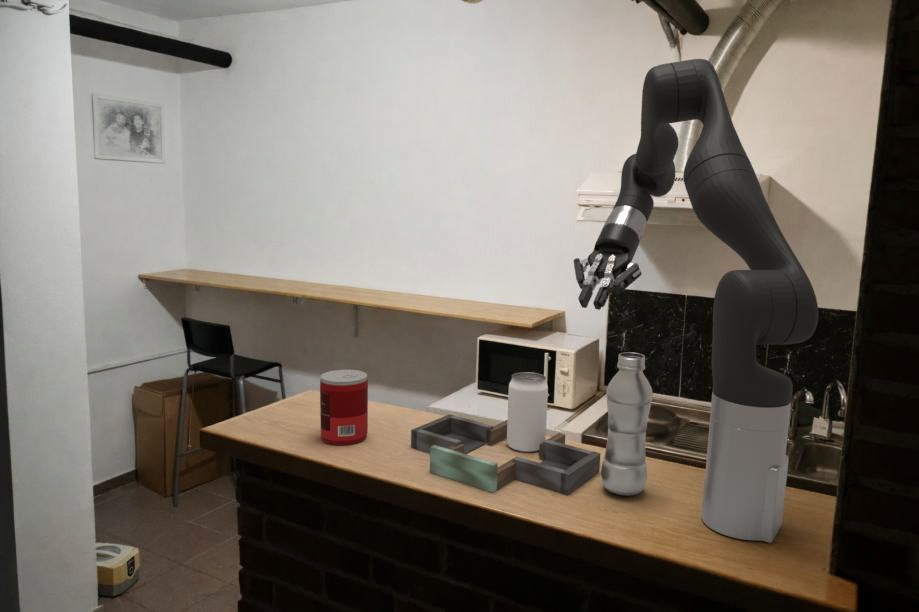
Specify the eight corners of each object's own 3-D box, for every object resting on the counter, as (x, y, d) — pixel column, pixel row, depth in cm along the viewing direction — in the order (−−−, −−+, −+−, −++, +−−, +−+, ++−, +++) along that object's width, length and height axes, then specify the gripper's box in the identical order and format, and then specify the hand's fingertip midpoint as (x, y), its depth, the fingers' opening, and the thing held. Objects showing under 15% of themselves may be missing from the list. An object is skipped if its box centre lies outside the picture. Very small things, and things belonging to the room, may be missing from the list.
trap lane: (613, 461, 111) (615, 437, 110) (547, 510, 94) (548, 481, 93) (466, 422, 128) (466, 401, 127) (386, 458, 110) (386, 433, 110)
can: (532, 456, 112) (535, 384, 110) (499, 446, 116) (501, 377, 114) (552, 445, 117) (555, 376, 115) (519, 436, 121) (522, 369, 119)
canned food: (376, 435, 120) (377, 373, 118) (345, 449, 113) (345, 384, 112) (343, 426, 124) (342, 366, 122) (311, 439, 117) (310, 376, 116)
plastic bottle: (595, 496, 98) (604, 358, 95) (604, 478, 104) (612, 348, 101) (642, 504, 96) (652, 363, 92) (648, 486, 102) (658, 352, 99)
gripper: (582, 219, 135) (549, 289, 127) (651, 223, 127) (620, 297, 119) (593, 245, 140) (561, 313, 132) (660, 250, 132) (630, 323, 124)
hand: (589, 305), depth 126 cm, fingers closed
